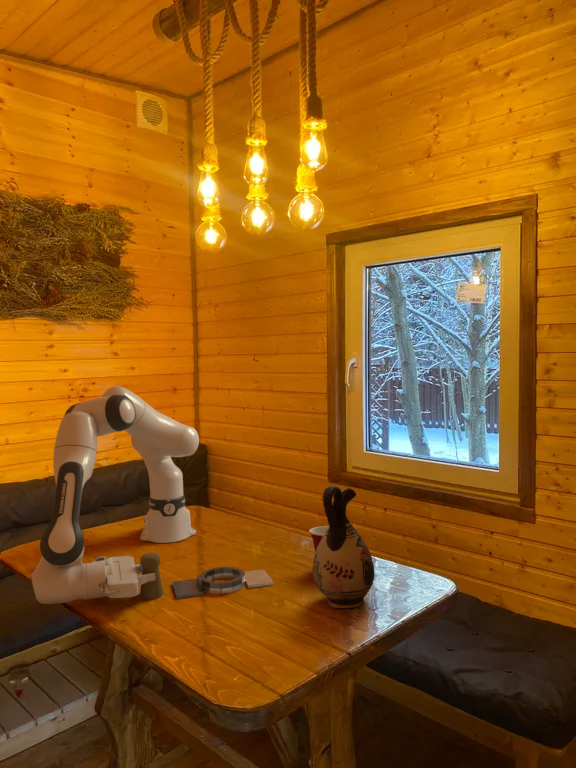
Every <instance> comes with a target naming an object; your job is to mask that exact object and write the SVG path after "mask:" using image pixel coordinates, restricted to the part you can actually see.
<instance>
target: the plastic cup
mask: <svg viewBox="0 0 576 768" xmlns="http://www.w3.org/2000/svg"><path fill="white" fill-rule="evenodd" d="M328 528H329V525H324V526H323V525H322V526H316V527H313V528H310V529H309V531H308V532H309V533H310V535H311V538H312V542H313V547H314V553H316V550H317V547H318V545H319V543H320V541H321V539H322V538H323V536H324V534H325V532H326V531H327V529H328Z"/></svg>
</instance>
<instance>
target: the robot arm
mask: <svg viewBox="0 0 576 768" xmlns="http://www.w3.org/2000/svg"><path fill="white" fill-rule="evenodd" d="M123 431H124V432H126V433H128V435H130V443H131V445H132V447H133V449H134V450H135V451H136V452H137V453H138V455H140V457H141V459H142V460H143V462H144V464H145V466H146V467H145V468H146V470H147V474H148V479H149V494H150V496H149V499H148V504H149V509H148V512H147V513H146V514H145V515H144V516H143V524H144V527H143V529H142V532H141V534H140V537H139V539H140V541H146V542H147V541H148V542H152V543H159V544H160V543H161V544H163V543H164V544H167V543H175V542H179V541H183V540H186V539H188V538H189V537H191V536H194V535H196V534H197V531H196V529H194V528H193V527H192V526H191V525H192V523H191V522H192V521H191V513H190V510H189V509H188V508H187V507H186V506H185V505H186V497H185V493H184V480H183V479H184V478H183V477H184V476H183V472H182V470H181V469H180V468H179V467H178V466H177V465H176V464H175V463H174V461H173V459H172V458H183V457H188V456H189V457H190V456H193V455H194V454H195V452H197V450H198V447H199V445H200V444H199V443H200V437H199V433H198V431H197V430H196V429H195V428H194V427H192V426H189V425H186V424H183V423H181V422H179V421H177V420H176V419H173V418H171V416H167V415H165V414H163V413H161V412H159V411H158V410H157V409H155V408H154V407H152V406H151V405H150V404H149V403H147V402H146V401H145V400H144V399H143V398H141V397H140V396H139V395H138V394H136V393H134V392H132V391H131V390H129V389H127V388H125V387H123V386H119V385H115V386H111V387H109V388H108V389H106V391H105V392H103V394H102V395H101V397H95V398H92V399H90V400H86V401H83V402H78V403H75V404H73V405H71V406H70V407H68V408H67V410H66V411H65V413H64V416H63V417H61V420H60V423H59V426H58V429H57V431H56V432H57V434H56V435H55V436H56V438H55V442H54V448H53V457H52V458H53V460H52V461H53V462H52V463H53V464H52V466H53V475H54V480H55V481H54V482H55V493H54V501H53V508H52V514H51V519H50V522H49V524H48V525H47V527H46V529H44V532H43V534H42V536H41V538H40V542H39V549H40V554H41V557H40V560H39V562H38V564H37V566H36V568H35V569H34V571H33V572H32V573H31V574H30V576H29V577H30V587H31V592H32V594H33V598H34V599H35V600H36V601H37V602H39V603H40V604H44V605H50V604H51V605H52V604H54V605H55V604H62V603H71V602H72V601H73V602H74V601H75V600H92V599H93V600H94V599H99V598H106V597H107V598H111V599H121V598H131V597H135V596H138V595H139V594H140V592H139V591H140V587H139V585H140V586H141V584H144V583H146V582H148V581H154V580H155V573H154V572H149V573H148V574H145V575H142V569H143V567H142V566H141V564H140V563H139V564H135V559H134V557H133V556H129V555H122V556H110V557H108V558H106V557H105V556H98V557H96V559H94V560H93V561H92V562H87V563H83V562H82V561H83V556H84V553H85V539H84V534H83V532H82V529H81V526H80V519H79V518H80V511H81V500H82V494H83V493H82V492H83V489H84V486H85V483H86V482H88V480H89V479H90V478H91V477H92V474H93V473H94V468H95V465H96V458H97V449H98V437H102V436H103V437H104V436H106V435H109V434H114V433H116V432H123Z"/></svg>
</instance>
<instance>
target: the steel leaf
mask: <svg viewBox="0 0 576 768" xmlns="http://www.w3.org/2000/svg"><path fill="white" fill-rule="evenodd" d="M244 573H245V580H244V581H243V583H242V584H239V585H237V586H235V587H231V588H224V589H215V588H208V587H205V586H203V585H202V589H203V591H204V593H208V594H213V595H214V594H215V595H223V594H230V593H231V594H232V593H234V592H235V593H236V592H238V591H239V590H242V589H243V588H244V586H246V587H247V588H248V589H254V588H261V587H268V586H274V581H273V580H272V578H271V576H270V575H269V574H268V573H267V571H266V570H265V569H255V570H249V571H244ZM238 577H239V576H238V575H235V574H232V573H220V574H214V575H211V576H209V577H207V578H206V579H207V580H210V581H213V579H214V580H218V579H219V580H220V579H232V580H233V579H236V578H238Z"/></svg>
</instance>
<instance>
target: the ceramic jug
mask: <svg viewBox="0 0 576 768" xmlns="http://www.w3.org/2000/svg"><path fill="white" fill-rule="evenodd" d="M356 496H357V493H356V491H355V490H353V488H349V487H348V488H347V487H346V489H344V490H343V491H342V489H341V488H340V487H338V486H335V485H330V486H328V487H326V488H325V489H324V491H323V495H322V504H323V509H324V513H325V515H326V519H327V524H328V526H329V528H328V529H327V531H326V532H325V534H324V536H323V538H322V539H321V541H320V543H319V545H318V547H317V550H316V553H315V552H314V553H315V554H314V555H313V562H312V577H313V581H314V583H315V586H316V588H317V589H318V590H319V591H320V593H322V595H323V596H324V597H325V599H326V601H327V603H328V605H329V606H330V607H332V608H334V609H349V608H350V609H351V608H352V609H353V608H359V607H360V606H362V605H363V604H365V602H366V601H365V597H366V596H367V594H368V593H369V592H370V589H371V588H372V586H373V583H374V580H375V573H376V572H375V571H376V570H375V565H374V561H373V558H372V553H371V552H370V550H369V547H368V546H367V544H366V542H365V541H364V539H363V538H362V536H361V535H360V533H359V532H358V530H357V529H356V528H355V527H354V526H353V524H352V523H351V521H350V520H349V518H348V516H347V506H348V504H349V503H350V502H351V501H352V500H353V499H354V498H355V497H356Z"/></svg>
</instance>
